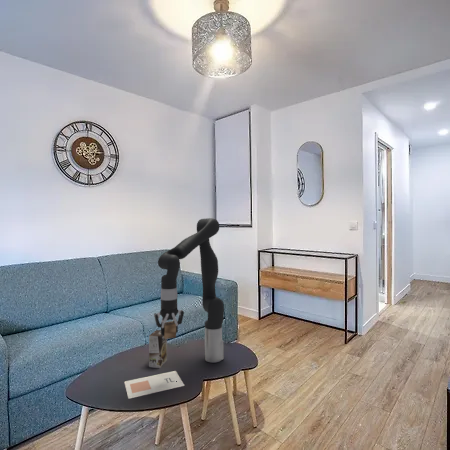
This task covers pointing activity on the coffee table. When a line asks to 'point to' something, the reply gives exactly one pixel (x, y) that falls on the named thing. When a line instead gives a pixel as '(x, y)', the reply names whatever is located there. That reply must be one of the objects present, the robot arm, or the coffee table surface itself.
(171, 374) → the mat
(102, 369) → the coffee table surface
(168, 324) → the walnut block
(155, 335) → the coffee box
